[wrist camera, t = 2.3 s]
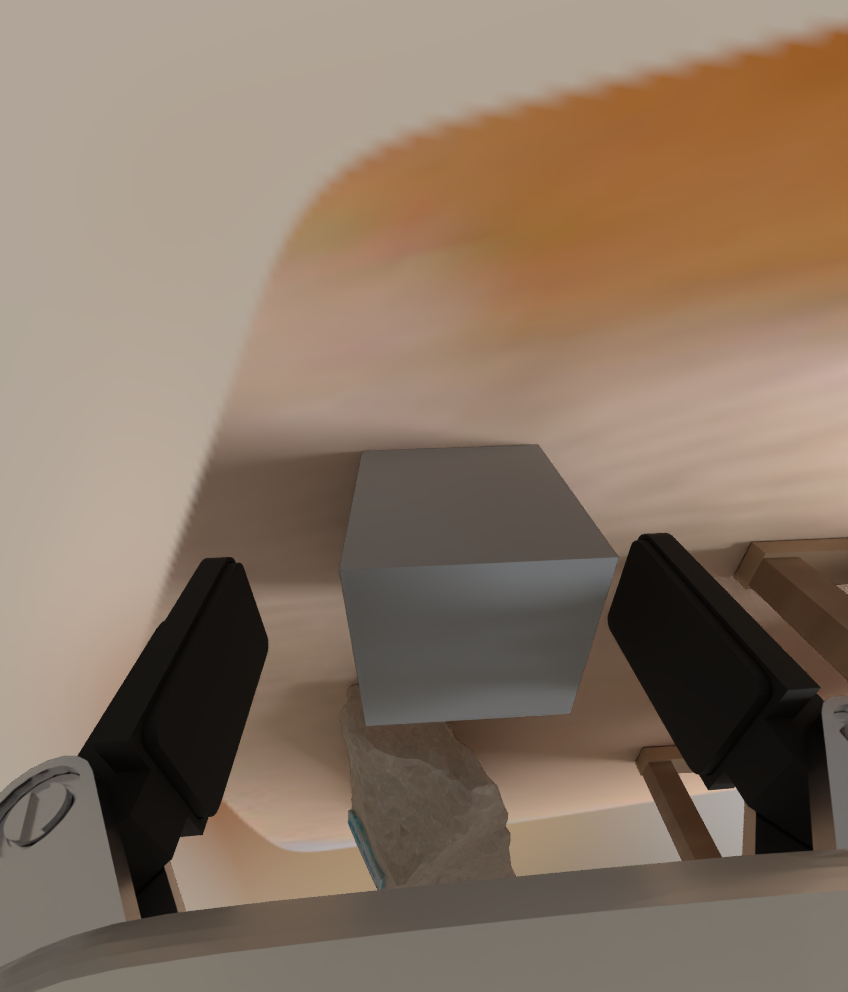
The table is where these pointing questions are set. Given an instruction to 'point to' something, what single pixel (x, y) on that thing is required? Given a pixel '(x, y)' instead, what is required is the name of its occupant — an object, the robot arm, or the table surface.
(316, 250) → the table surface
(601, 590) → the slate block
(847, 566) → the frame
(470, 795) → the concrete fragment
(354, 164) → the table surface
